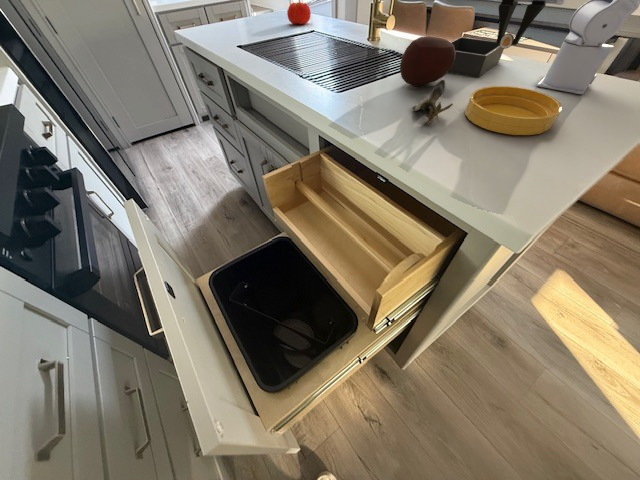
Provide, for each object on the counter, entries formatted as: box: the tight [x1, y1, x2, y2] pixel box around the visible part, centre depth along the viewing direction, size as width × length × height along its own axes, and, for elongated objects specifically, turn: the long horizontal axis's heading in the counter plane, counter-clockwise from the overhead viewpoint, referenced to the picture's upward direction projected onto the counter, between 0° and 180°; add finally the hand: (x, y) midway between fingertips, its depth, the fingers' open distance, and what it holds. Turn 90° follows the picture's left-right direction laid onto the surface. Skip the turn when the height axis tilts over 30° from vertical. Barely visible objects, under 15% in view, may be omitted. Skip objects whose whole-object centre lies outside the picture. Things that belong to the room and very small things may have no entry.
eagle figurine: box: [411, 79, 454, 126], centre depth 55 cm, size 8×7×9 cm
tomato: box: [286, 1, 311, 25], centre depth 125 cm, size 11×11×8 cm
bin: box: [447, 36, 505, 79], centre depth 76 cm, size 13×15×5 cm
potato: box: [399, 35, 456, 87], centre depth 66 cm, size 11×13×10 cm
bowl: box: [464, 85, 563, 136], centre depth 54 cm, size 16×16×4 cm
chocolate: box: [500, 27, 516, 50], centre depth 62 cm, size 3×2×4 cm
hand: (506, 43), depth 63 cm, fingers closed on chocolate, 3 cm apart
